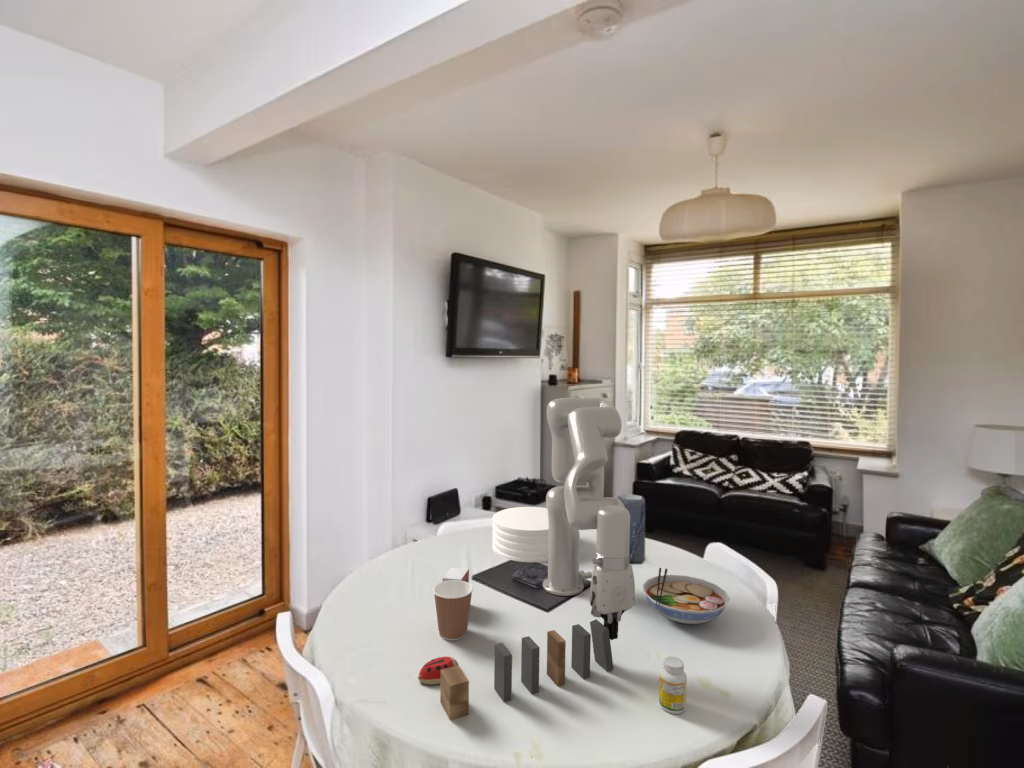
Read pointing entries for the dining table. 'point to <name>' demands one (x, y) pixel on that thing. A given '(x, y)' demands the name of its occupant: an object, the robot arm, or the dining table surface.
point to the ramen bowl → (685, 598)
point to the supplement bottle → (673, 686)
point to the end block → (454, 692)
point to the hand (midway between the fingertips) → (610, 636)
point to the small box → (457, 575)
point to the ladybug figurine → (435, 670)
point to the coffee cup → (453, 608)
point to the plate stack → (521, 534)
